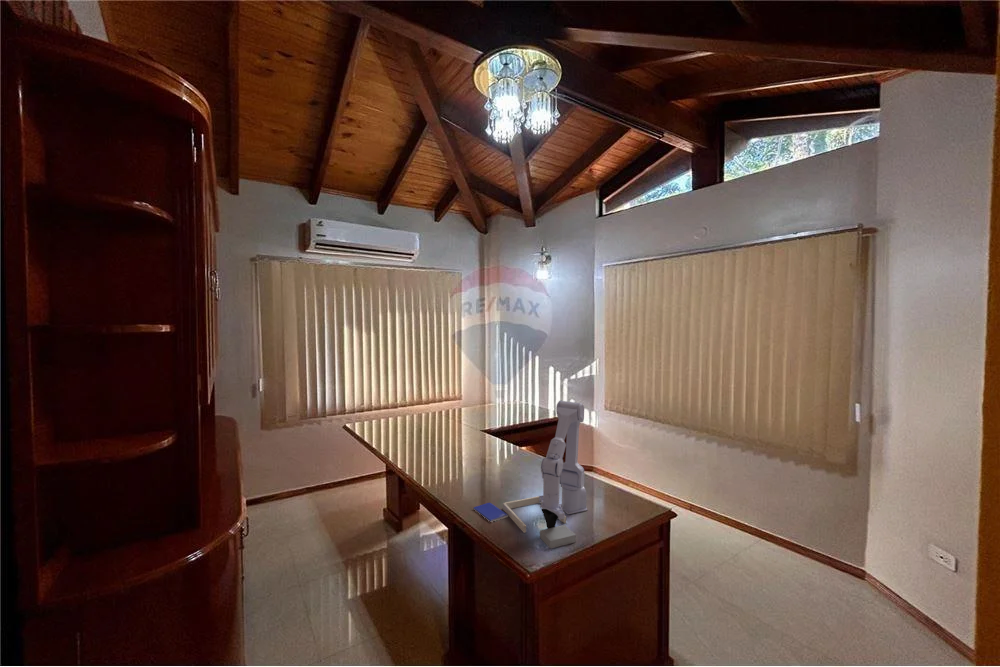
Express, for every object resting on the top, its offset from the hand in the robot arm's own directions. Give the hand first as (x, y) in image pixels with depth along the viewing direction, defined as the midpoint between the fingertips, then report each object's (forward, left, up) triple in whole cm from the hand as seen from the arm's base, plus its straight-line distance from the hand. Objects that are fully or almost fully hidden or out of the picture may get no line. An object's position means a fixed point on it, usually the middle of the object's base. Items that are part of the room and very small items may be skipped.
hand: (550, 529), depth 134 cm
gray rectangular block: (0, +5, -2) cm, 5 cm away
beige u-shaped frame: (0, -13, -1) cm, 13 cm away
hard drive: (+15, -22, -2) cm, 26 cm away
